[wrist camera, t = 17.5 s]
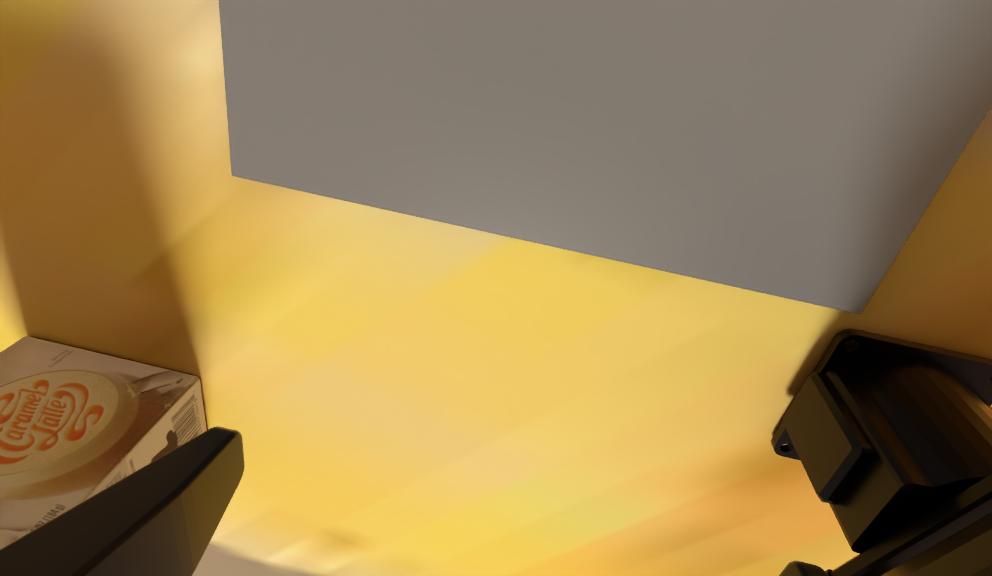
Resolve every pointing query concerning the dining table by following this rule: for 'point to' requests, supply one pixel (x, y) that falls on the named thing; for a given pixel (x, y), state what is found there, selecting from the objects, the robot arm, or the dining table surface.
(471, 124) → the baseplate
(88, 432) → the coffee box
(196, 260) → the dining table surface
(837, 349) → the robot arm
